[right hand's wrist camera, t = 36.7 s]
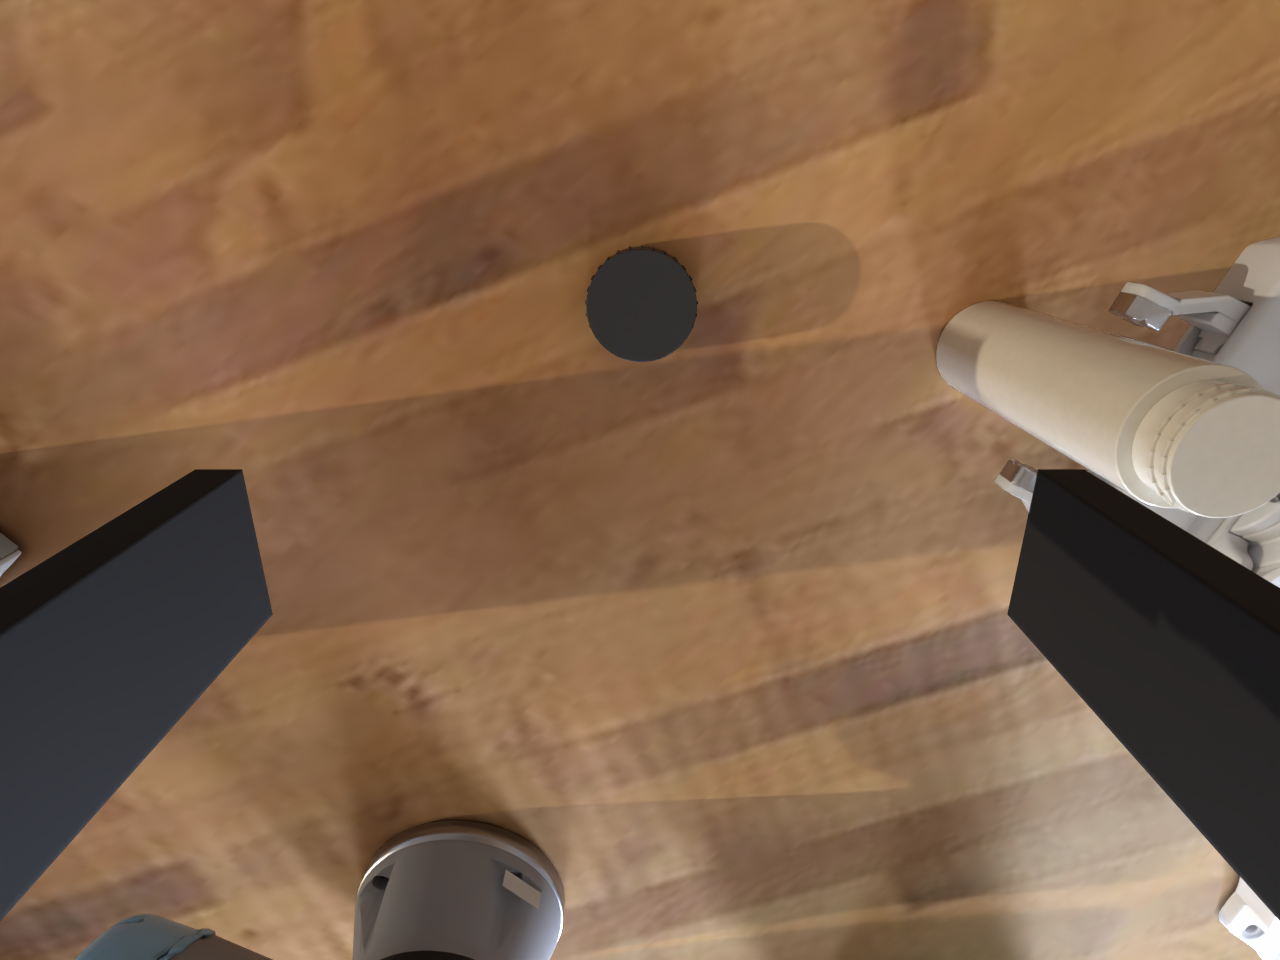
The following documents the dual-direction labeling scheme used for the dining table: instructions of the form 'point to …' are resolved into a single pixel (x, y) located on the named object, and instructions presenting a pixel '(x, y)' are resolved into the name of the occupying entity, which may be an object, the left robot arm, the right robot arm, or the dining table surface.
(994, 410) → the jar
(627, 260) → the lid
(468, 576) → the dining table surface
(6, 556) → the hard drive box
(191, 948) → the right robot arm
